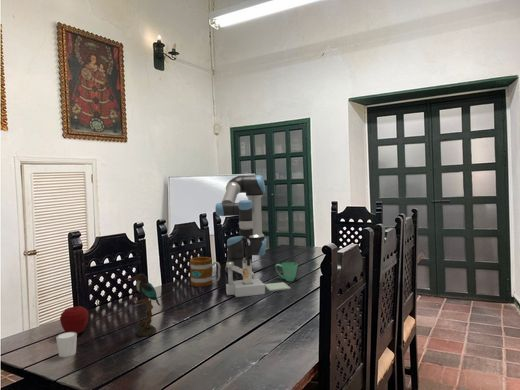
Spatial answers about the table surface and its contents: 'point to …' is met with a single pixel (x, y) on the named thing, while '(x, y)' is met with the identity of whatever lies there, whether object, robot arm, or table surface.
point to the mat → (277, 286)
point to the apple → (74, 319)
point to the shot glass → (66, 344)
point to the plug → (250, 273)
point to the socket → (243, 287)
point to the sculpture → (148, 293)
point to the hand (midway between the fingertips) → (247, 270)
